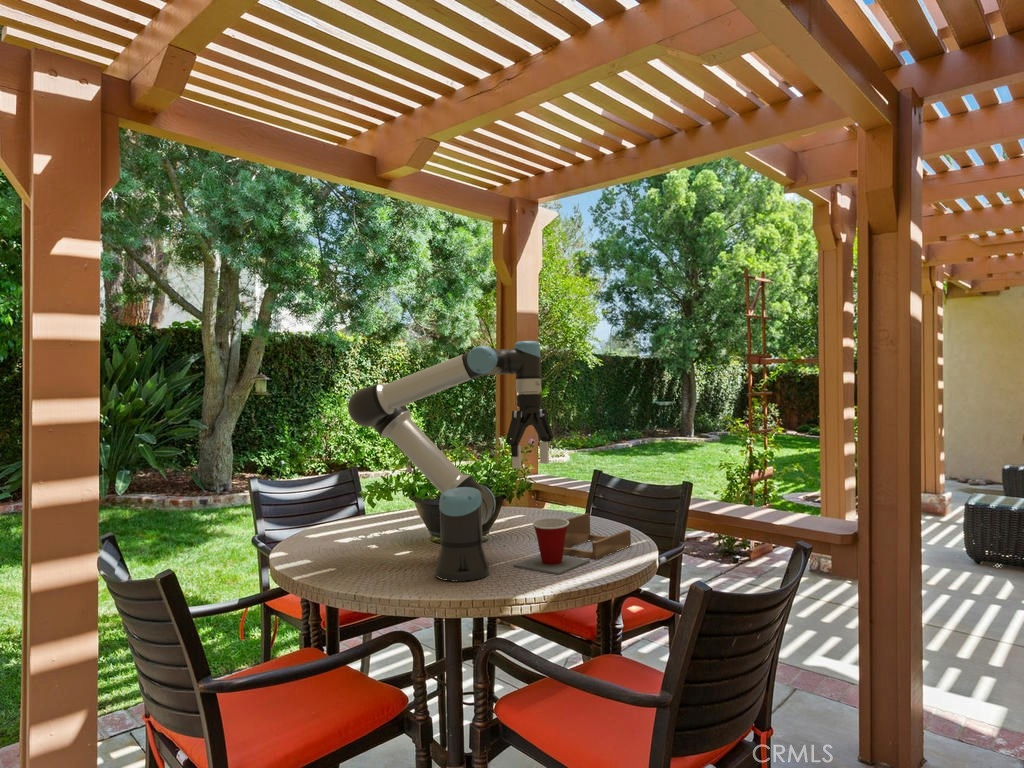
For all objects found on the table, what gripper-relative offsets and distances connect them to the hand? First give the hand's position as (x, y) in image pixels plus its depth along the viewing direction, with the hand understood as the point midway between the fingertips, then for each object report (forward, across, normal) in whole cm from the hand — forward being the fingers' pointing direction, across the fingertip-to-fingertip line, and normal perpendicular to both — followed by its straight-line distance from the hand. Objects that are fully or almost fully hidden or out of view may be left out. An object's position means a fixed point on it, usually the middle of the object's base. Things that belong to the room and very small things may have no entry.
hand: (531, 465), depth 192 cm
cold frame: (+29, +24, -5) cm, 38 cm away
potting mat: (+29, +2, -5) cm, 29 cm away
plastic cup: (+28, +2, -5) cm, 29 cm away
